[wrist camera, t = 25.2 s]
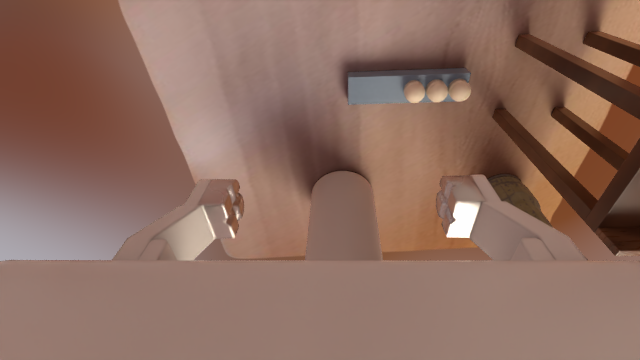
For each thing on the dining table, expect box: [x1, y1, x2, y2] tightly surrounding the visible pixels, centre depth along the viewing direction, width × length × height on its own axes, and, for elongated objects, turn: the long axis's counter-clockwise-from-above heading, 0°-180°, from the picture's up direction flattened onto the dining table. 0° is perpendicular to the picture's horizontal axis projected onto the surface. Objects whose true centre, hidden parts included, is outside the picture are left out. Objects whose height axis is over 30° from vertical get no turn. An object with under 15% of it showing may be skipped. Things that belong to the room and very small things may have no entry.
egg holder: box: [348, 68, 471, 105], centre depth 47 cm, size 18×4×5 cm, turn 93°
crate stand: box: [493, 31, 640, 256], centre depth 36 cm, size 11×13×29 cm
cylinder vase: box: [305, 171, 383, 261], centre depth 54 cm, size 12×12×25 cm
